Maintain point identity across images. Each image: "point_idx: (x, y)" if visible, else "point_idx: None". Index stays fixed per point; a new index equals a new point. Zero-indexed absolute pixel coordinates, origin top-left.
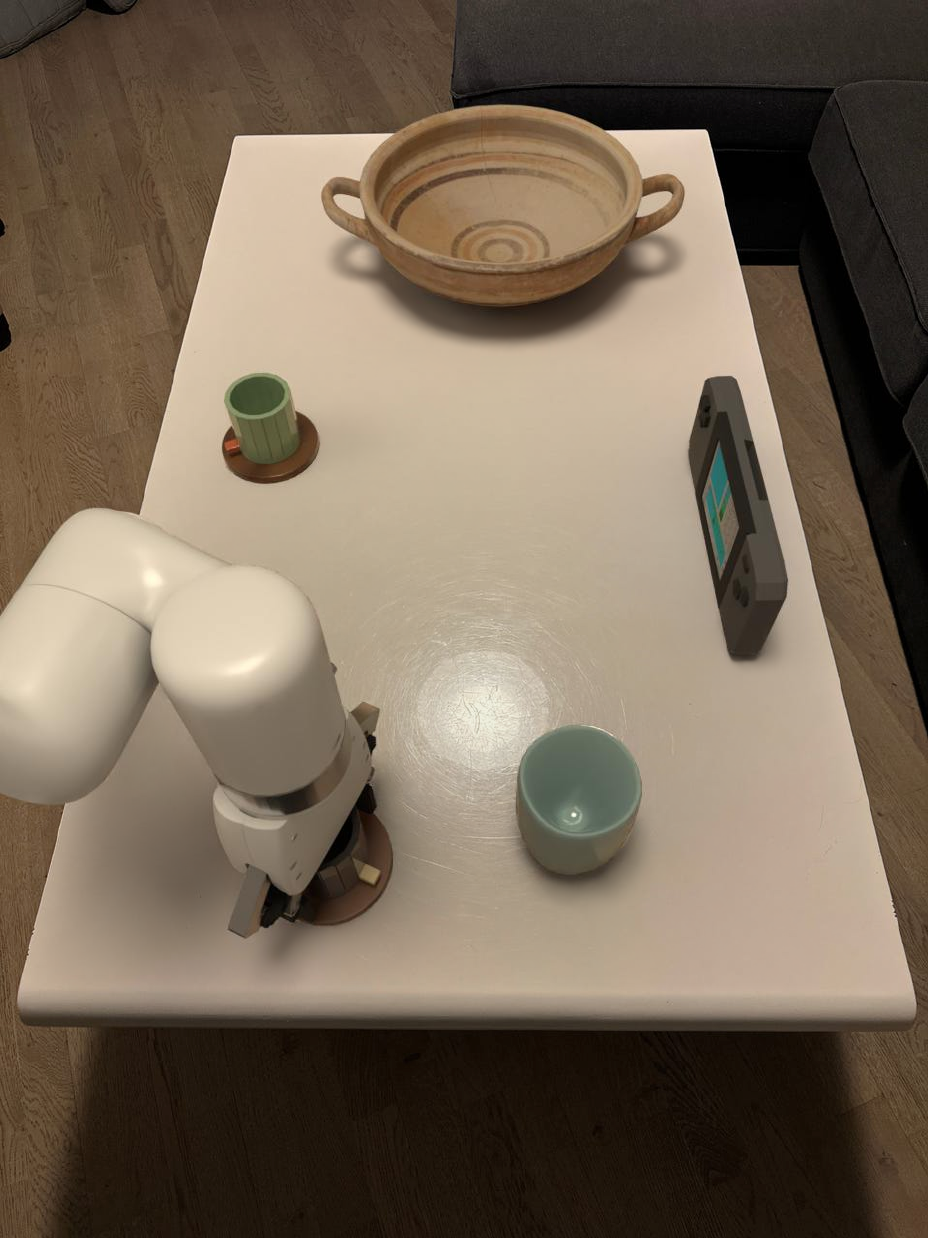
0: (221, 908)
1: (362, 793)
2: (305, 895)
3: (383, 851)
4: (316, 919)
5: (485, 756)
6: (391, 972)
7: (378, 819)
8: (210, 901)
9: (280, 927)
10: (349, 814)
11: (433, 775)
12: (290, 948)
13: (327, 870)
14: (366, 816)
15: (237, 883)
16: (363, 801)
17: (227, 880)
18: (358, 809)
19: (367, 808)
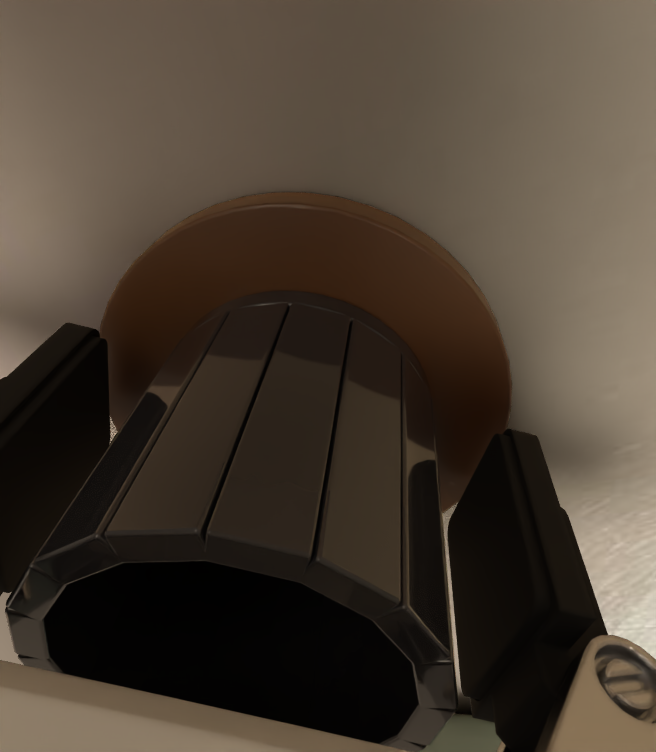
0: (21, 74)
1: (468, 690)
2: (6, 591)
3: None
4: (117, 417)
5: (648, 649)
6: None
7: (447, 509)
8: (19, 10)
9: (72, 303)
10: (367, 671)
11: (599, 571)
12: (38, 344)
13: None
14: (453, 480)
15: (131, 105)
16: (462, 602)
17: (124, 54)
18: (475, 458)
19: (453, 562)
